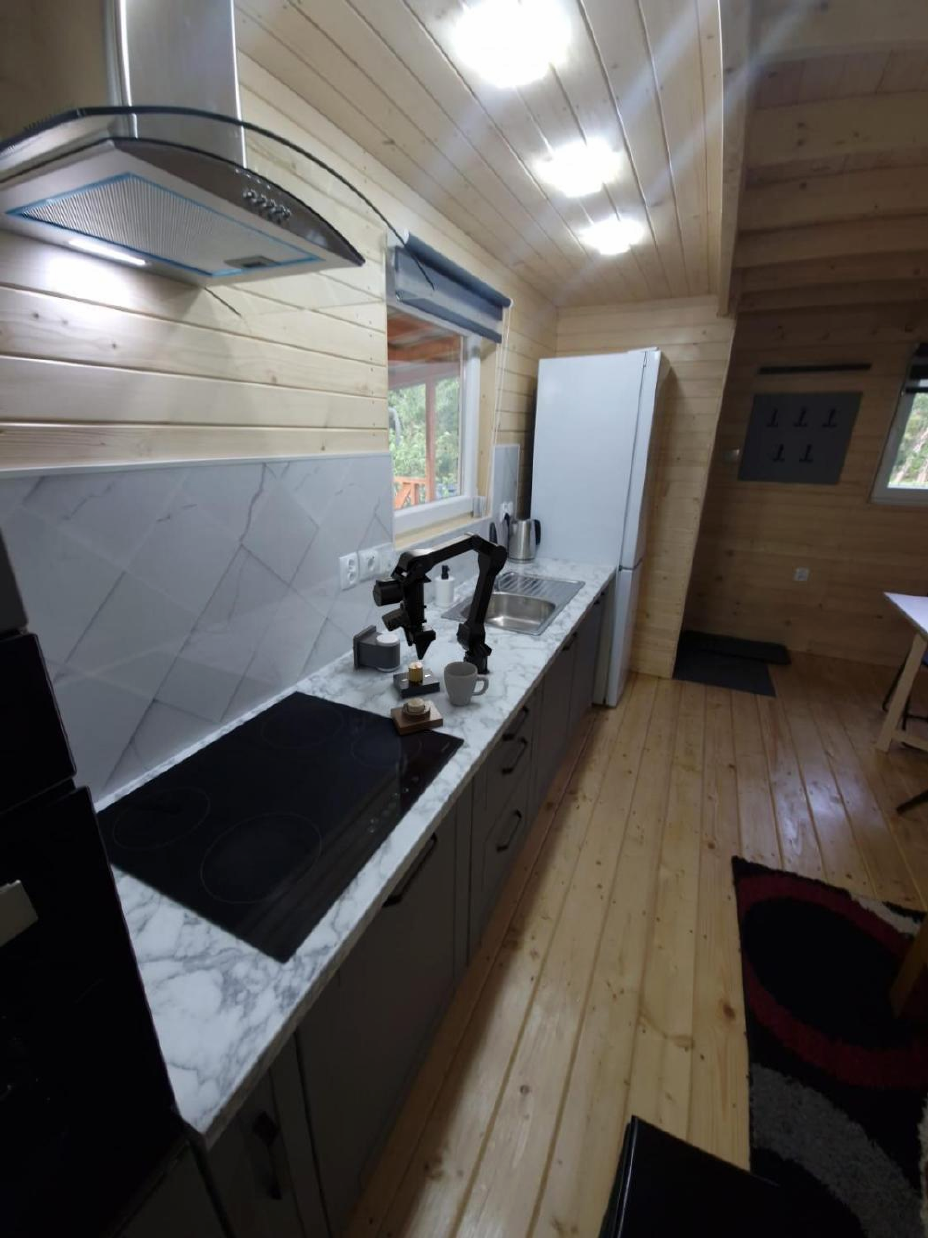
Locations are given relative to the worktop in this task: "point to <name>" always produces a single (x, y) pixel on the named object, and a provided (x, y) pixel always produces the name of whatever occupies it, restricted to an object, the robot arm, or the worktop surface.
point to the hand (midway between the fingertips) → (415, 652)
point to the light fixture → (376, 649)
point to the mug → (463, 682)
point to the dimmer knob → (415, 671)
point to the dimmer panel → (416, 684)
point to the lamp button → (416, 705)
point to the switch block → (416, 718)
